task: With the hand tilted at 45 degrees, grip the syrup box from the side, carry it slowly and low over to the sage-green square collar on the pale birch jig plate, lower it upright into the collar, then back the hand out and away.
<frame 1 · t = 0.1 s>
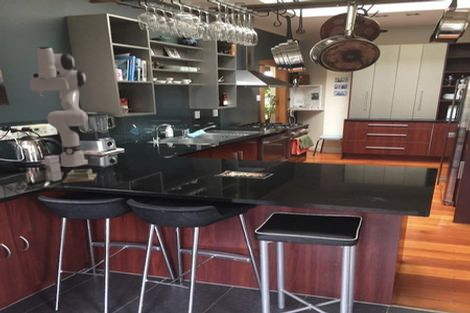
hand: (51, 98, 198), 48 cm above the counter, tool pointing down, fingers open, 8 cm apart
syrup box: (54, 180, 198), on the counter
cradle jig: (80, 178, 199), on the counter
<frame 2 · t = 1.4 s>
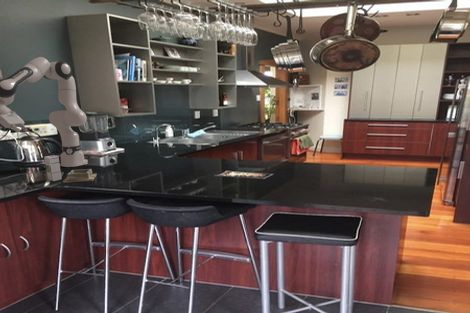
hand: (22, 131, 192), 30 cm above the counter, tool tilted 45°, fingers open, 8 cm apart
nothing on the counter moved.
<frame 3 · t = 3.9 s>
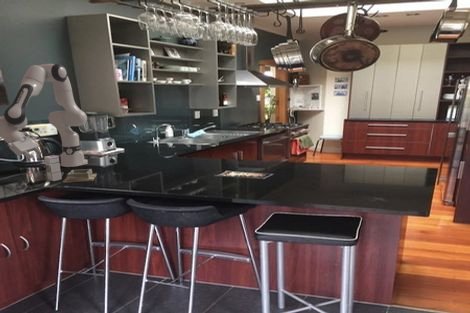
hand: (36, 155, 194), 15 cm above the counter, tool tilted 45°, fingers open, 8 cm apart
nothing on the counter moved.
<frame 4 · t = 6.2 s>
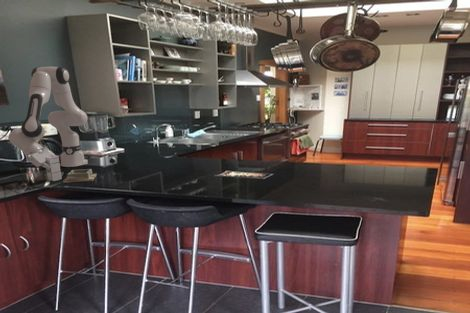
hand: (53, 166, 196), 8 cm above the counter, tool tilted 45°, fingers closed on syrup box, 8 cm apart
syrup box: (54, 180, 198), on the counter, touching gripper
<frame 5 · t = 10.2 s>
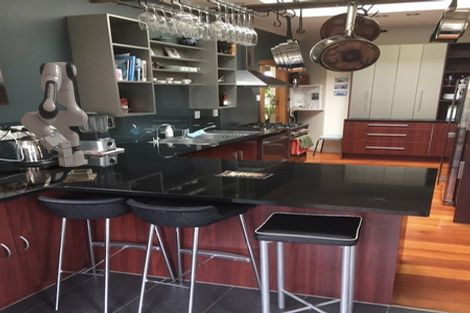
hand: (65, 151, 195), 17 cm above the counter, tool tilted 45°, fingers closed on syrup box, 8 cm apart
syrup box: (66, 165, 197), point 9 cm above the counter, touching gripper
when the fingers open (10 cm above the counter, at t = 14.0 s): syrup box stays where it is, resting on cradle jig.
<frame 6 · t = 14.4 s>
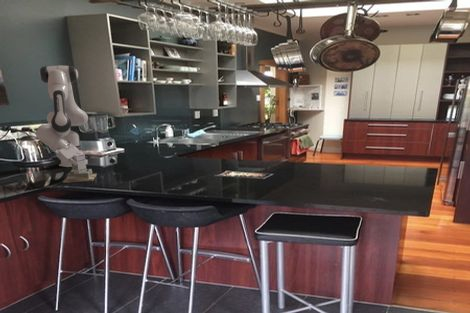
hand: (79, 162, 197), 10 cm above the counter, tool tilted 45°, fingers open, 8 cm apart
syrup box: (80, 177, 199), point 1 cm above the counter, touching cradle jig
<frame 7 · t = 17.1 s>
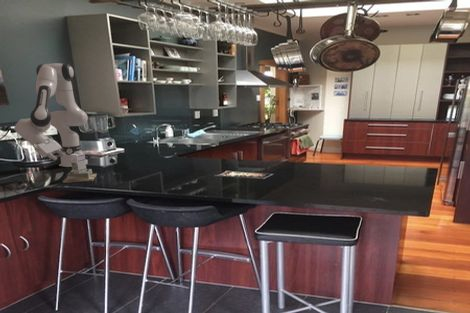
hand: (60, 157, 195), 13 cm above the counter, tool tilted 45°, fingers open, 8 cm apart
nothing on the counter moved.
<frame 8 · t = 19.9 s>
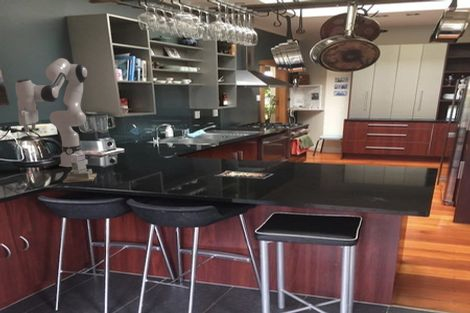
hand: (30, 131, 194), 29 cm above the counter, tool pointing down, fingers open, 8 cm apart
nothing on the counter moved.
at the end: syrup box 0.1 cm off-centre on the cradle jig, point 0.8 cm above the cradle jig's base; syrup box tilted 0°; the gripper is holding nothing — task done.
